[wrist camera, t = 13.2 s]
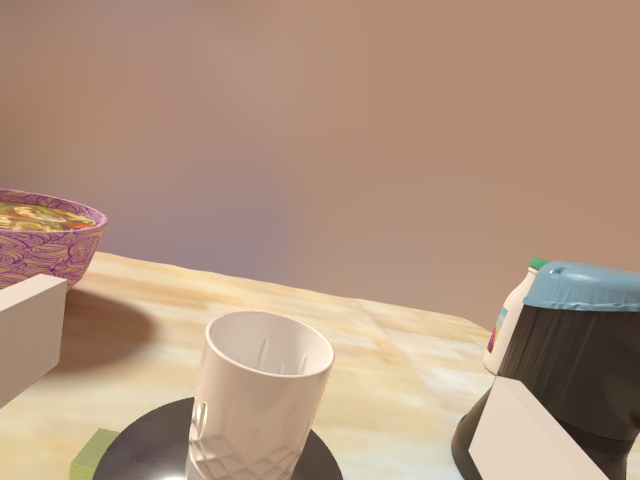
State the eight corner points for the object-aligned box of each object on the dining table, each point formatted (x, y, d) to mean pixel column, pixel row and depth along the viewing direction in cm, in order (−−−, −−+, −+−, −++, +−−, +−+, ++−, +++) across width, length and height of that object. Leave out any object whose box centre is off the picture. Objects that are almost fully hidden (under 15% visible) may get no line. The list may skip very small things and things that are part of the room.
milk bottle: (540, 386, 62) (586, 272, 58) (510, 388, 58) (557, 267, 54) (500, 359, 68) (540, 256, 65) (472, 360, 65) (512, 251, 61)
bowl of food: (-60, 260, 51) (-55, 177, 49) (106, 277, 59) (117, 207, 57) (-185, 332, 33) (-184, 206, 31) (78, 343, 41) (93, 243, 39)
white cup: (319, 493, 25) (360, 359, 23) (214, 564, 19) (258, 393, 17) (251, 419, 30) (280, 305, 28) (152, 457, 24) (181, 316, 22)
